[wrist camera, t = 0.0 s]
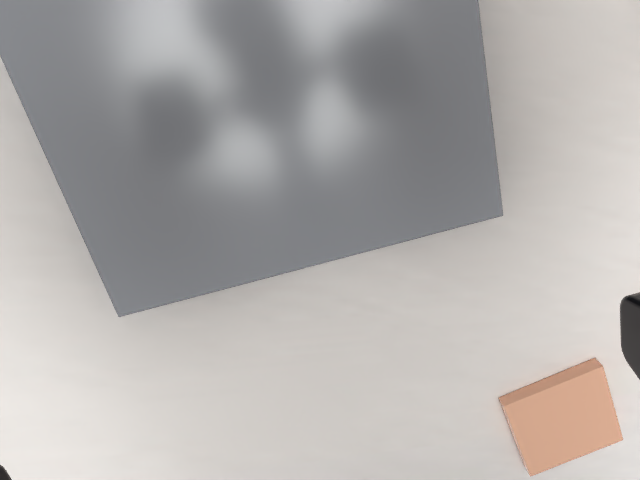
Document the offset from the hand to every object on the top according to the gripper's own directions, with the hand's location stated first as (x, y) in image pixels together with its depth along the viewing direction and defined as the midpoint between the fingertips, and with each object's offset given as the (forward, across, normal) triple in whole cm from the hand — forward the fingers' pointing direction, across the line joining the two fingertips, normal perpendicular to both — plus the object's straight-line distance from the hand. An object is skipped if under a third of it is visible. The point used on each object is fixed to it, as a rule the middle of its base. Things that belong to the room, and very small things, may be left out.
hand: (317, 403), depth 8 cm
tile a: (+15, -10, +16) cm, 24 cm away
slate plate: (+15, 0, -4) cm, 15 cm away
